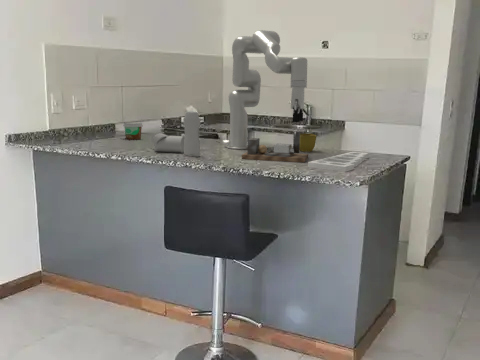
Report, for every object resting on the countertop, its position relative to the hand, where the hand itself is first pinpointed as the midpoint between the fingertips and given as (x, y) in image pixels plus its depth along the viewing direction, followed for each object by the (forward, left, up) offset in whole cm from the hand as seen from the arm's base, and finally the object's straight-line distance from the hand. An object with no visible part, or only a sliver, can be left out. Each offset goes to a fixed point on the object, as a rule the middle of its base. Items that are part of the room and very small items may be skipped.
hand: (297, 121), depth 254 cm
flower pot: (0, +31, -19) cm, 36 cm away
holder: (+25, -1, -19) cm, 31 cm away
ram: (-5, 0, -15) cm, 16 cm away
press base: (-10, 0, -18) cm, 21 cm away
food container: (-108, +44, -19) cm, 119 cm away
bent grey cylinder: (-69, +7, -19) cm, 72 cm away
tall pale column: (-51, -5, -19) cm, 55 cm away
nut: (-17, 0, -16) cm, 23 cm away
